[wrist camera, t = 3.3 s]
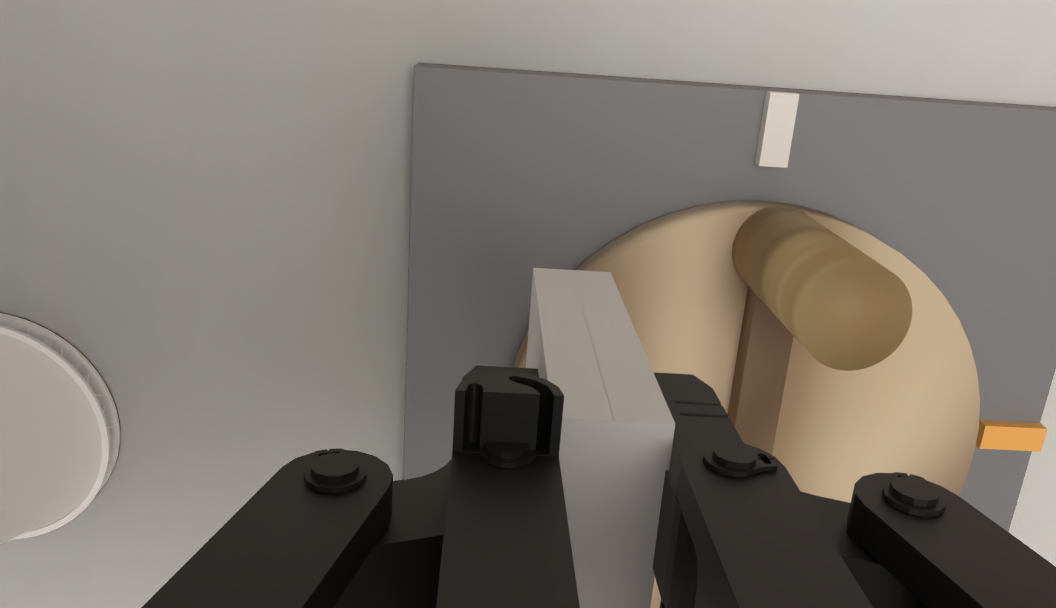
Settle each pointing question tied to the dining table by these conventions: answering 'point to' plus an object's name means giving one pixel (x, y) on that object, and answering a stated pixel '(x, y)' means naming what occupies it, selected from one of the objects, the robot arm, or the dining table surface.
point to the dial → (803, 340)
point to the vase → (50, 430)
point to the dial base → (714, 177)
